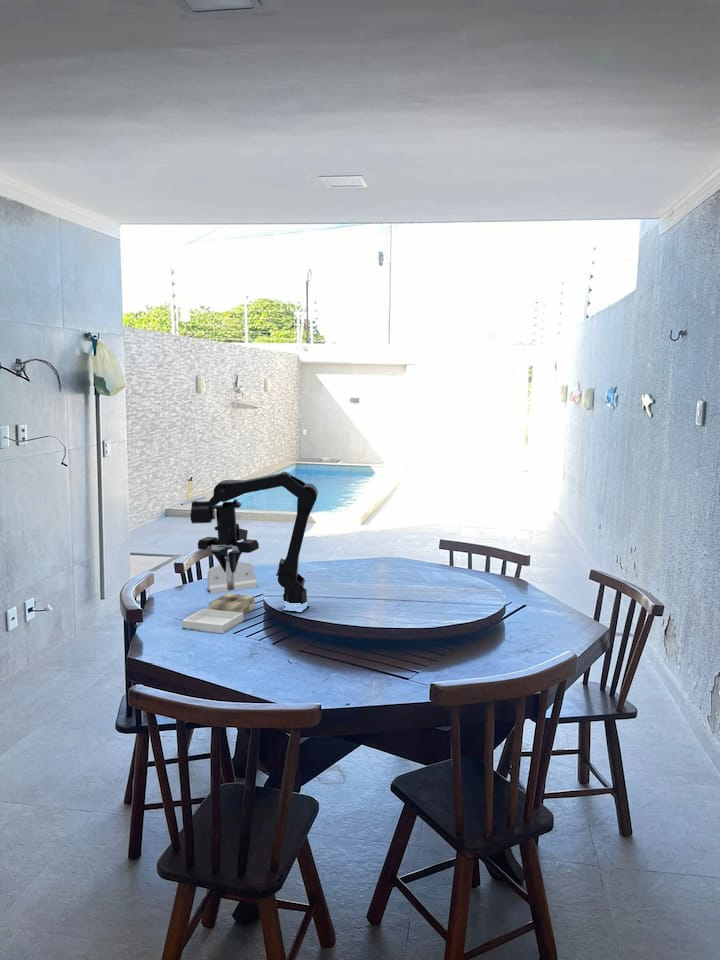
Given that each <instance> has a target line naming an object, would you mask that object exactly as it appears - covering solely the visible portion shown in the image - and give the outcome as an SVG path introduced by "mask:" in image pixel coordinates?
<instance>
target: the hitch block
mask: <svg viewBox="0 0 720 960" xmlns="http://www.w3.org/2000/svg"><path fill="white" fill-rule="evenodd" d="M255 602H256V599H255V595H251V594H249V595H248V594H239V593H238V594H237V593H230V592H225V594H222V595H221V596H219V597H217V598H215V599H214V600H212V601H210V602H208V606H209V607H208V609H211V610H220V611H229V612H238V613H243V616H244V615H246V614H248V613H249V612H252V611H253V610H255V609H256V604H255Z"/></svg>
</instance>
